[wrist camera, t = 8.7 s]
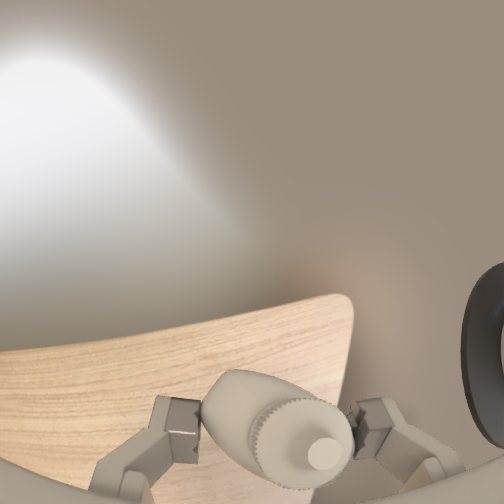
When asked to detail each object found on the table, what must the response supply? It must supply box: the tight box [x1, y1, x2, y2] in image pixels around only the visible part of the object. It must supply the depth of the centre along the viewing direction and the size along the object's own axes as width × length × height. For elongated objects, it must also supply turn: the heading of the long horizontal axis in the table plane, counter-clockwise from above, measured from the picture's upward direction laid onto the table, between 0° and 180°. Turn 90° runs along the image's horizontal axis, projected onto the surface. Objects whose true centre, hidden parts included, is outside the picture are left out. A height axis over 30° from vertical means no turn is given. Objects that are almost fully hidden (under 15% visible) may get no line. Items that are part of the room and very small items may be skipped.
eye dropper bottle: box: [200, 369, 356, 490], centre depth 10 cm, size 4×6×12 cm
